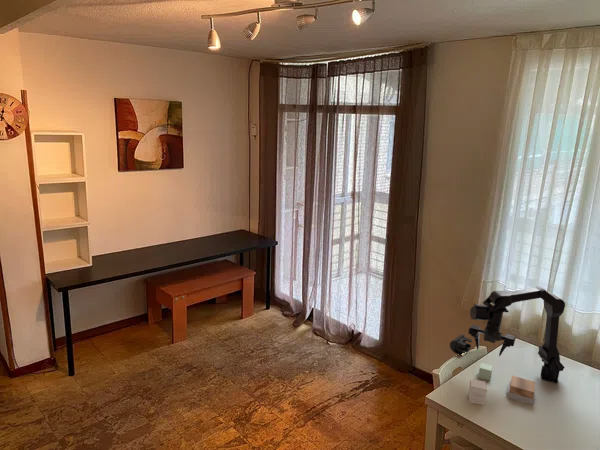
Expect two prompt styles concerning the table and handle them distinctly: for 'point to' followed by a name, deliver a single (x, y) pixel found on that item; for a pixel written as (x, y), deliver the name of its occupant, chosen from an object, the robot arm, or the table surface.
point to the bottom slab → (519, 396)
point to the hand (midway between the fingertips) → (488, 352)
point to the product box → (477, 392)
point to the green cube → (485, 371)
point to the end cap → (460, 345)
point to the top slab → (522, 387)
